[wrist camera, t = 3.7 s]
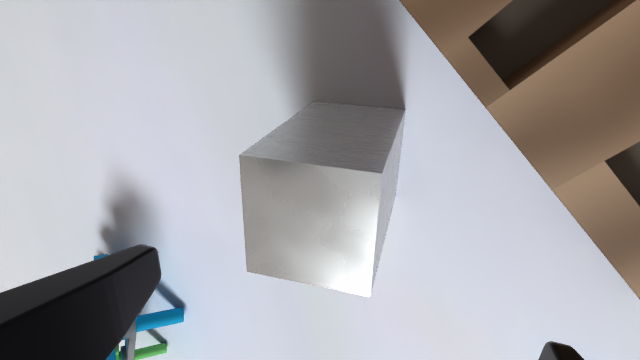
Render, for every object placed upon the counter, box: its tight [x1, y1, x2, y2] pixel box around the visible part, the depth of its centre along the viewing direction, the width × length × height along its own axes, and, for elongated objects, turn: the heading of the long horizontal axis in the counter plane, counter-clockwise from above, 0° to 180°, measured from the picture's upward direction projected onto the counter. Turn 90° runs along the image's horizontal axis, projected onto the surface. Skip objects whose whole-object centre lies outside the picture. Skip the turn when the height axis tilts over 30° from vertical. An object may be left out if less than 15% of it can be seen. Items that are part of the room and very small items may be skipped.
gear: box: [94, 254, 184, 360], centre depth 27 cm, size 11×6×10 cm
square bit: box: [239, 101, 405, 297], centre depth 16 cm, size 4×4×8 cm
